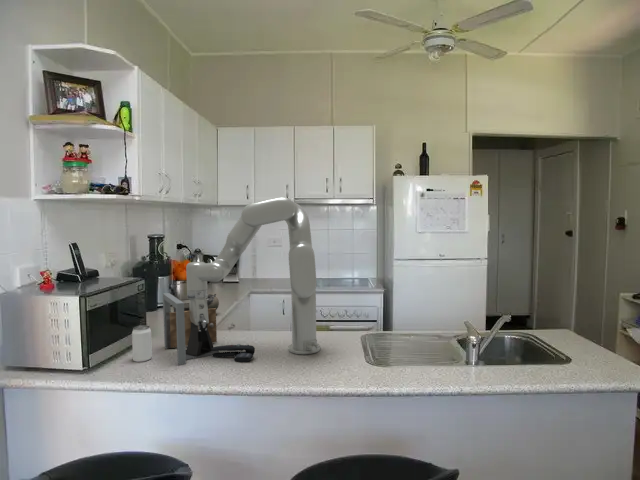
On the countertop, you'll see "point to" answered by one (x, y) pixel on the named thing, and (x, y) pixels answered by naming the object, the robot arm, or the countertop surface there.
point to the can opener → (235, 352)
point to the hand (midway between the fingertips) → (198, 338)
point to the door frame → (180, 324)
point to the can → (141, 343)
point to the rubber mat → (200, 355)
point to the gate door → (188, 327)
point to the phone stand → (195, 346)
